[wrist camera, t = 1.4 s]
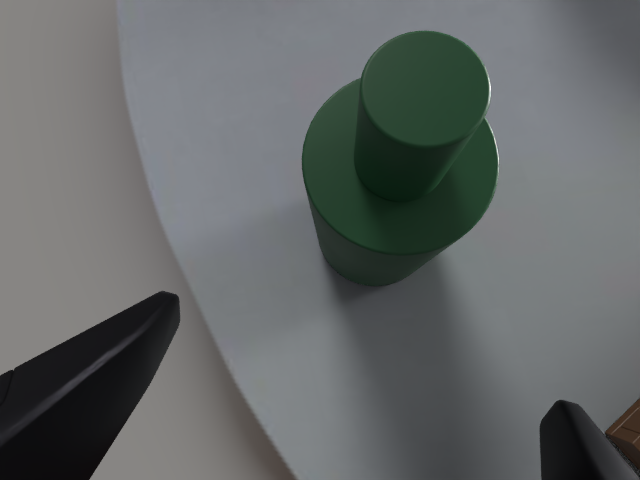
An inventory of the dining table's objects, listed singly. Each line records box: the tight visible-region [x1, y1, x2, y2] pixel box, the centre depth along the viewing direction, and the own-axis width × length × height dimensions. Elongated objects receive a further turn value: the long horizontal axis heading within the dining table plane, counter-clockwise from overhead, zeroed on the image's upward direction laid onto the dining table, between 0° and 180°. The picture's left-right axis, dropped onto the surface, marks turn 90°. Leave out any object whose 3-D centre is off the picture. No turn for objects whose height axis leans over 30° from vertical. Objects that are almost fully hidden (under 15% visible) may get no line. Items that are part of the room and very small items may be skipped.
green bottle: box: [302, 31, 499, 286], centre depth 16 cm, size 6×6×14 cm
